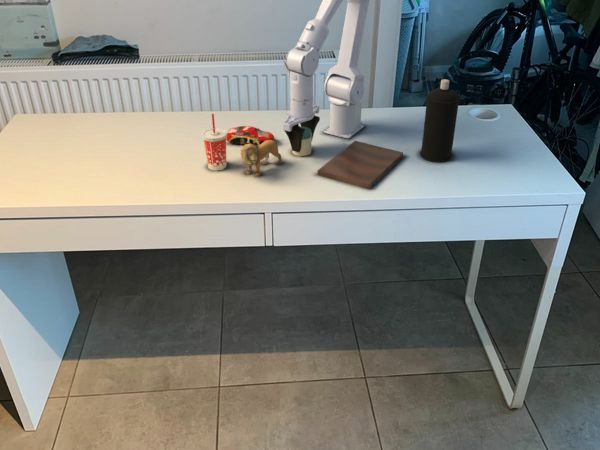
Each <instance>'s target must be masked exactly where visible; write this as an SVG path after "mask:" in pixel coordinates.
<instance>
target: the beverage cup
mask: <svg viewBox="0 0 600 450" xmlns="http://www.w3.org/2000/svg"><path fill="white" fill-rule="evenodd" d="M211 121H212V128H209V129H205V130H204V131H202V133H201V138H202V140H203V144H204V150H205V156H206V162H207V167H208V169H209V170H211V171H222V170H225V169H226V168H227V140H226V139H227V138H226V137H227V132H228V131H227V130H225V129H223V128H218V127H216V126H215V125H216V124H215V113H211Z"/></svg>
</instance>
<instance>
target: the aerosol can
mask: <svg viewBox="0 0 600 450" xmlns="http://www.w3.org/2000/svg"><path fill="white" fill-rule="evenodd" d="M425 98H426V105H425V114H424V122H423V123H424V124H423V131H422V140H421V141H422V142H421V150H420V151H419V156H420V157H421V158H422V159H423V160H426V161H429V162H432V163H445V162H448V161H450V160H452V158H453V152H452V151H453V146H454V139H455V132H456V124H457V118H458V110H459V103H460V101H461V97H460V95H458V93H457V92H456V91H455V90H453V89H451V88H450V80H449V79H446V78H443V79H441V80H440V86H439V87H437V88H434V89H432V90H431V91H429V93H427V94H426V96H425Z"/></svg>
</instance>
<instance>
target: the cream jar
mask: <svg viewBox="0 0 600 450" xmlns="http://www.w3.org/2000/svg"><path fill="white" fill-rule="evenodd" d="M300 128H304V129H305V131H304V134H303V137H302V143H301V150H300V152H296V151H292V150H291V151H292V154H293V155H295V156H298V157H305V156H309V155H310V154H312V142H311V136H312V130H311V129H310V128H307V127H301V126H300Z"/></svg>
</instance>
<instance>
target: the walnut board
mask: <svg viewBox="0 0 600 450" xmlns="http://www.w3.org/2000/svg"><path fill="white" fill-rule="evenodd" d="M403 157H404V152H403V151H399V150H395V149H391V148H388V147H387V148H386V147H382V146H379V145H374V144H371V143H367V142H362V141H359V140H358V141H357V140H354V141H353V142H352V143H350V144H349V145H348V146H347V147H345V148H344V149H343V150H341V151H340V152H339V153H338V154H336V155H335V156H334V157H333V158H332V159H330V160H329V161H328V162H326V163H325V164H323V166H321V167H320V168H319V169H318V170H317V175H318V176H321V177H325V178H328V179H332V180H334V181H339V182H341V183H342V182H343V183H345V184H350V185H353V186H356V187H360V188H363V189H368V190H369V189H371V188H372V187H373V186H374V185H375V184H376V183H377V182H378V181H379V180H380V179H381V178H382V177H383V176H385V175H386V173H388V172H389V171H390V170H391V169H392V168H393V167H394V166H395V165H396V164H397V163H398V162H400V160H402V158H403Z"/></svg>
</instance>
